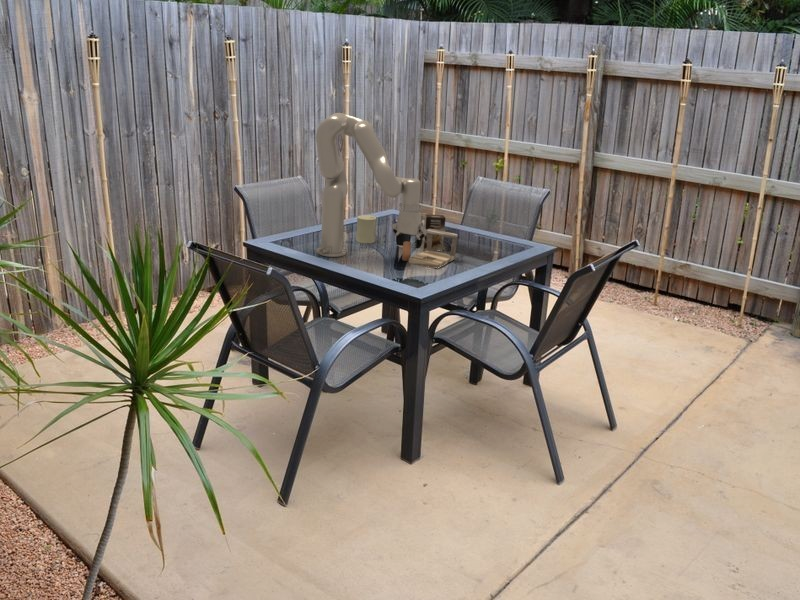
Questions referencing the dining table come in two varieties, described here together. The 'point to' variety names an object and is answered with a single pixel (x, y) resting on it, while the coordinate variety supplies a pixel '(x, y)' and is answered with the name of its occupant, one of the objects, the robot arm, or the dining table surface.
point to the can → (366, 229)
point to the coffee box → (437, 224)
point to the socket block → (434, 257)
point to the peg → (406, 251)
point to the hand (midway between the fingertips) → (408, 246)
